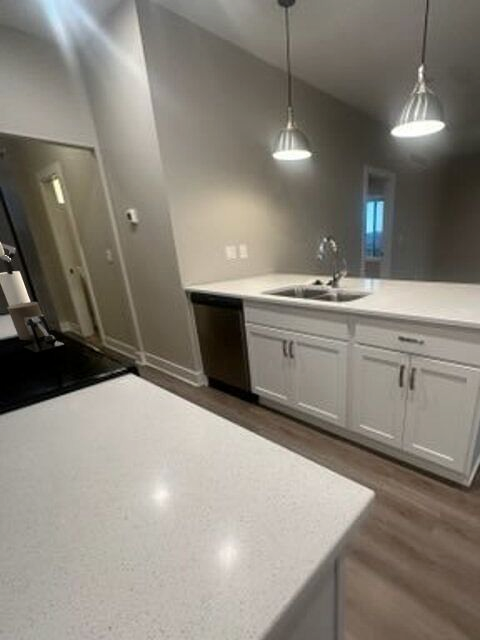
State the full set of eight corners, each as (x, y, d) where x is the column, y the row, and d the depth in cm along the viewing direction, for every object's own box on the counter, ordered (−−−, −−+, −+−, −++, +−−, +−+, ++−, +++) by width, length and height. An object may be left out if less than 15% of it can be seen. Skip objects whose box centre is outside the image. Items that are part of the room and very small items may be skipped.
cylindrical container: (41, 329, 149) (20, 270, 140) (40, 333, 144) (18, 272, 134) (21, 332, 146) (-2, 272, 136) (19, 336, 140) (-5, 274, 131)
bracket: (65, 347, 125) (55, 315, 120) (37, 355, 118) (24, 322, 113) (52, 341, 131) (42, 311, 127) (25, 349, 125) (13, 317, 120)
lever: (58, 344, 120) (57, 338, 118) (47, 347, 118) (47, 340, 116) (39, 321, 123) (38, 314, 121) (29, 323, 121) (28, 316, 119)
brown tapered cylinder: (52, 337, 137) (39, 300, 131) (22, 344, 130) (7, 305, 125) (47, 333, 143) (34, 297, 137) (18, 339, 137) (3, 302, 131)
